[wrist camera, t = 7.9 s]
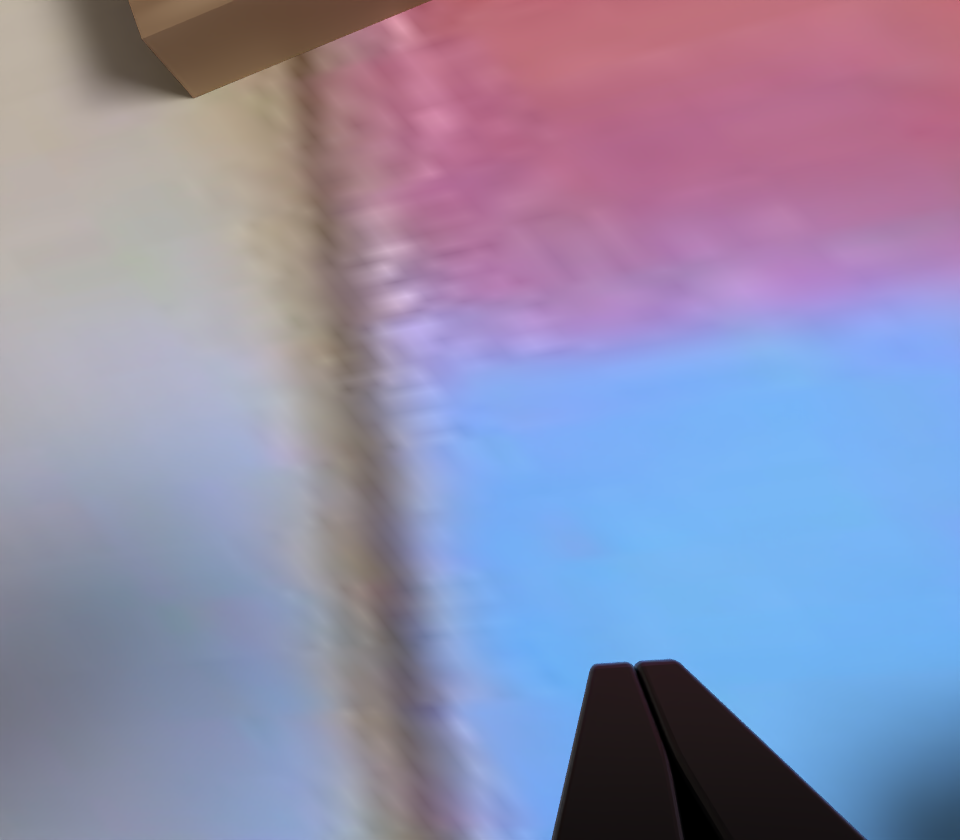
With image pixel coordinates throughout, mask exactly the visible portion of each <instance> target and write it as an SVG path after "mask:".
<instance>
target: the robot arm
mask: <svg viewBox="0 0 960 840" xmlns="http://www.w3.org/2000/svg"><path fill="white" fill-rule="evenodd" d="M552 840H867V839H866V838H865V837H864V836H862V835H861V834H860V833H859V832H858V831H857V830H856V829H855V828H854V827H853V826H852V825H851V824H850V823H849V822H848V821H847V820H846V819H844V818H843V817H842V816H841V815H840V814H839V813H838V812H837V811H836V810H835V809H834V808H833V807H832V806H831V805H830V804H829V803H828V802H827V801H825V800H824V799H823V798H822V797H821V796H820V795H819V794H818V793H817V792H816V791H815V790H814V789H813V788H812V787H811V786H810V785H809V784H808V783H806V782H805V781H804V780H803V779H802V778H801V777H800V776H799V775H798V774H797V773H796V772H795V771H794V770H793V769H792V768H791V767H790V766H788V765H787V764H786V763H785V762H784V761H783V760H782V759H781V758H780V757H779V756H778V755H777V754H776V753H775V752H774V751H773V750H772V749H771V748H769V747H768V746H767V745H766V744H765V743H764V742H763V741H762V740H761V739H760V738H759V737H758V736H757V735H756V734H755V733H754V732H753V731H752V730H750V729H749V728H748V727H747V726H746V725H745V724H744V723H743V722H742V721H741V720H740V719H739V718H738V717H737V716H736V715H735V714H734V713H732V712H731V711H730V710H729V709H728V708H727V707H726V706H725V705H724V704H723V703H722V702H721V701H720V700H719V699H718V698H717V697H716V696H715V695H713V694H712V693H711V692H710V691H709V690H708V689H707V688H706V687H705V686H704V685H703V684H702V683H701V682H700V681H699V680H698V679H697V678H696V677H694V676H693V675H692V674H691V673H690V672H689V671H688V670H687V669H686V668H685V667H684V666H683V665H682V664H681V663H679V662H677V661H676V660H672V659H664V660H648V661H639V662H638V663H636V664H635V666H634V667H633V665H632V664H630V663H628V662H616V663H600V664H594V665H593V666H592V667H591V669H590V672H589V676H588V680H587V685H586V689H585V694H584V698H583V703H582V707H581V711H580V716H579V720H578V725H577V729H576V734H575V738H574V742H573V747H572V751H571V756H570V760H569V764H568V769H567V773H566V778H565V782H564V787H563V791H562V795H561V800H560V804H559V809H558V813H557V818H556V822H555V826H554V831H553V835H552Z"/></svg>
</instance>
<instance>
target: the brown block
mask: <svg viewBox="0 0 960 840" xmlns="http://www.w3.org/2000/svg"><path fill="white" fill-rule="evenodd" d="M128 1H129V4H130V7H131V10H132V13H133V16H134V18H135V21H136V24H137V27H138V30H139V33H140V36H141V38H142V40H143V41H144V42H145V43H146V45H147V46H148V47H149V48H150V49H151V50H152V51H153V53H154V54H155V55H156V56H157V57H158V58H159V59H160V60H161V62H162V63H163V64H164V65H165V66H166V67H167V68H168V70H169V71H170V72H171V73H172V74H173V75H174V76H175V78H176V79H177V80H178V81H179V82H180V83H181V84H182V86H183V87H184V88H185V89H186V90H187V91H188V92H189V94H190V95H191V96H192V97H193V98H195V97H198V96H200V95H203V94H205V93H208V92H210V91H212V90H215V89H217V88H220V87H222V86H225V85H227V84H229V83H232V82H234V81H237V80H239V79H242V78H244V77H246V76H249V75H251V74H254V73H256V72H259V71H261V70H263V69H266V68H268V67H271V66H273V65H276V64H278V63H280V62H283V61H285V60H288V59H290V58H293V57H295V56H297V55H300V54H302V53H305V52H307V51H309V50H312V49H314V48H317V47H319V46H322V45H324V44H326V43H329V42H331V41H334V40H336V39H339V38H341V37H343V36H346V35H348V34H351V33H353V32H356V31H358V30H360V29H363V28H365V27H368V26H370V25H373V24H375V23H377V22H380V21H382V20H385V19H387V18H390V17H392V16H394V15H397V14H399V13H402V12H404V11H406V10H409V9H411V8H414V7H416V6H419V5H421V4H423V3H426V2H428V1H431V0H128Z"/></svg>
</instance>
